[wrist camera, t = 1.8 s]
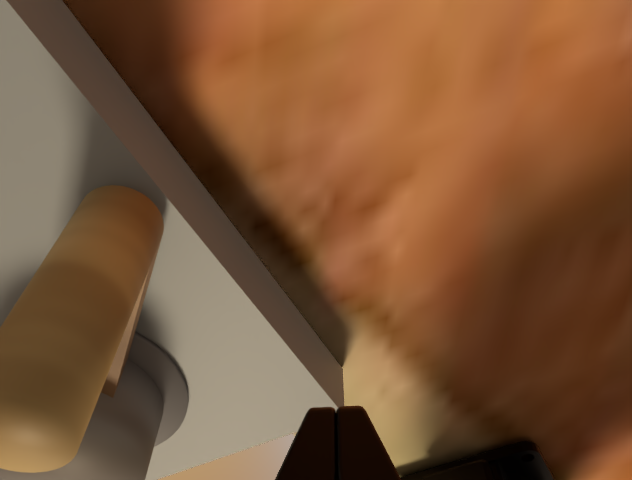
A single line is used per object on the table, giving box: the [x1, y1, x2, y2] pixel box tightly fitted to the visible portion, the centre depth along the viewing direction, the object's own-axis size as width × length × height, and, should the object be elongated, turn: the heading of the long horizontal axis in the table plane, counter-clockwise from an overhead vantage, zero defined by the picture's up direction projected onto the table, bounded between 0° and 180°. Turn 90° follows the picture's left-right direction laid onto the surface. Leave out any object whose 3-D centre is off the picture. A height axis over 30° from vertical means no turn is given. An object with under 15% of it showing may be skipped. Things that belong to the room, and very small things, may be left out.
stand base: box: [0, 0, 344, 480], centre depth 17 cm, size 16×14×3 cm
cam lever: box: [0, 185, 164, 480], centre depth 14 cm, size 10×5×6 cm, turn 159°
